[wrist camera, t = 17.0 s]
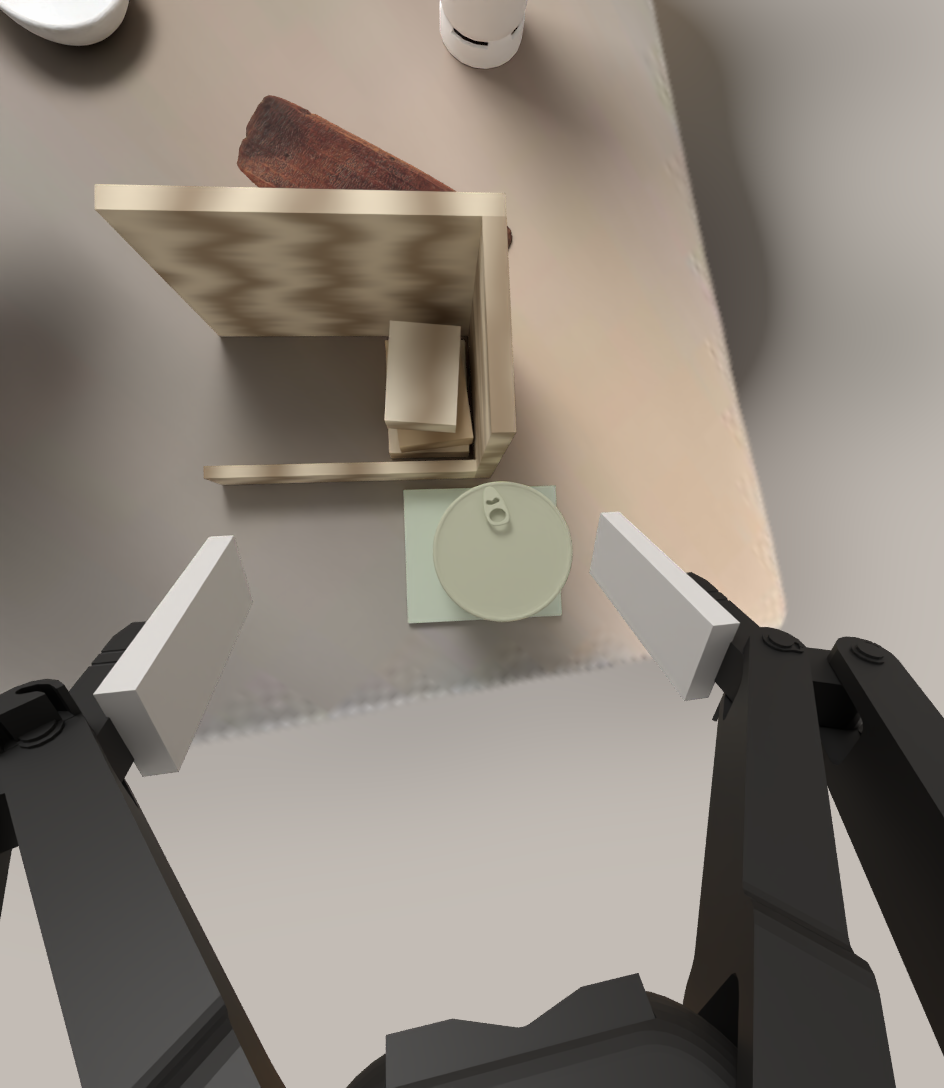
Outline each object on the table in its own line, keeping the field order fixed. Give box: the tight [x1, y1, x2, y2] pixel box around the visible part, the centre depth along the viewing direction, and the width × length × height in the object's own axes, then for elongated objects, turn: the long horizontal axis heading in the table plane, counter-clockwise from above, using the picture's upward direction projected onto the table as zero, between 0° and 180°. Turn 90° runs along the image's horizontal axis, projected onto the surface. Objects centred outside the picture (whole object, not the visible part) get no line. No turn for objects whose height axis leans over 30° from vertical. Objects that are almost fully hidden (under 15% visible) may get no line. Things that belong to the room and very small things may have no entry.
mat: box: [403, 486, 562, 623], centre depth 39 cm, size 14×12×1 cm
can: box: [433, 481, 572, 622], centre depth 33 cm, size 9×9×12 cm
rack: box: [95, 184, 516, 485], centre depth 32 cm, size 24×15×14 cm, turn 92°
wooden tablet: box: [237, 95, 512, 248], centre depth 40 cm, size 26×2×10 cm
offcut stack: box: [384, 320, 473, 459], centre depth 37 cm, size 7×10×6 cm
